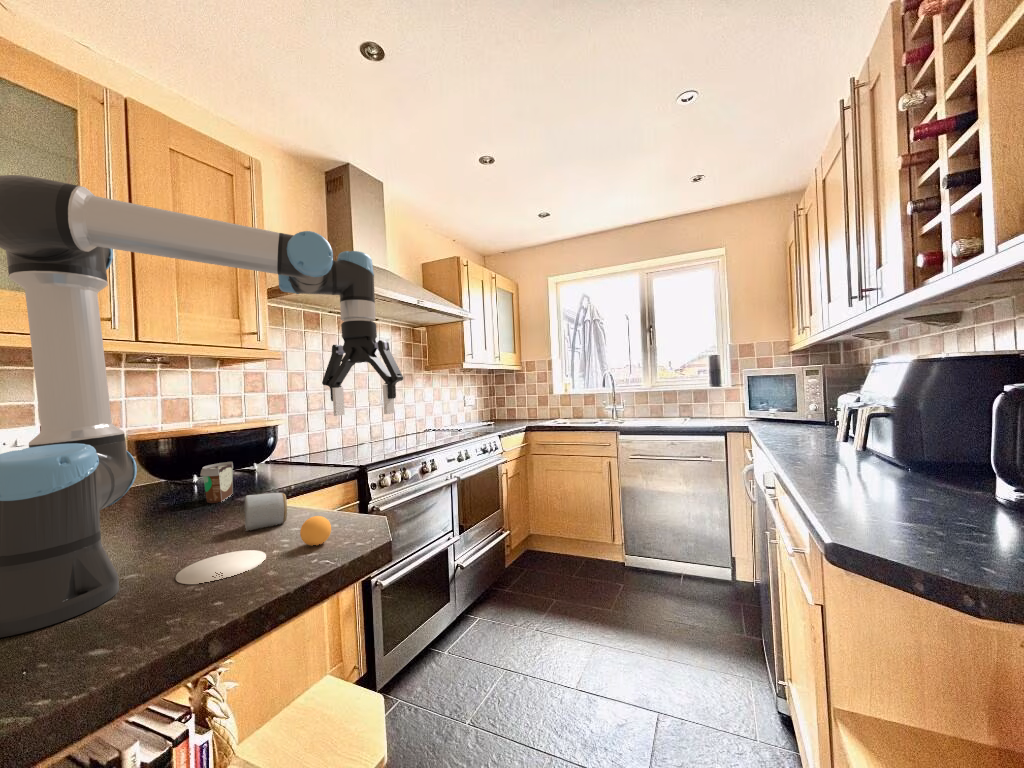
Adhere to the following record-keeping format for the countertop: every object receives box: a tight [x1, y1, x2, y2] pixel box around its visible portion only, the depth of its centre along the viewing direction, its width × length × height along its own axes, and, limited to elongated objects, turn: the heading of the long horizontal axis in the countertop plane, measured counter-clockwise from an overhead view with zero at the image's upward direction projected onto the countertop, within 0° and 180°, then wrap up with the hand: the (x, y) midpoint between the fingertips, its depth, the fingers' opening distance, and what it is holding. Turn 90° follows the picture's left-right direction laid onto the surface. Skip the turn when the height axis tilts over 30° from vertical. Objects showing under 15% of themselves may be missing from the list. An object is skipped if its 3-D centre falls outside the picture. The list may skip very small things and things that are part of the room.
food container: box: [199, 461, 234, 504], centre depth 121 cm, size 12×6×10 cm, turn 17°
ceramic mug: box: [244, 492, 288, 532], centre depth 95 cm, size 11×8×8 cm
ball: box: [299, 515, 332, 547], centre depth 81 cm, size 6×6×6 cm
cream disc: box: [175, 549, 267, 585], centre depth 73 cm, size 13×13×1 cm
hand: (363, 414), depth 94 cm, fingers open, 13 cm apart
